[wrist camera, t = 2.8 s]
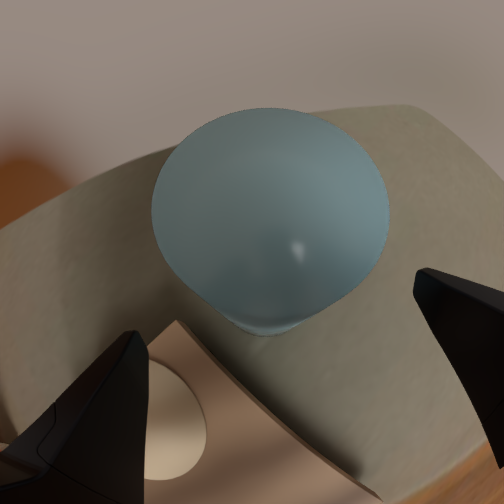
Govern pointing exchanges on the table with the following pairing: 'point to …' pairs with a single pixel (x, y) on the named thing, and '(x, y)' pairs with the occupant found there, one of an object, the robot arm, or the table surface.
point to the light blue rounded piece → (270, 216)
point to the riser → (226, 438)
